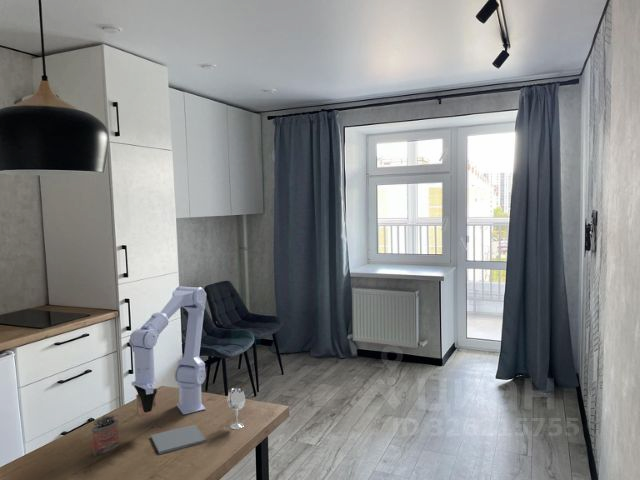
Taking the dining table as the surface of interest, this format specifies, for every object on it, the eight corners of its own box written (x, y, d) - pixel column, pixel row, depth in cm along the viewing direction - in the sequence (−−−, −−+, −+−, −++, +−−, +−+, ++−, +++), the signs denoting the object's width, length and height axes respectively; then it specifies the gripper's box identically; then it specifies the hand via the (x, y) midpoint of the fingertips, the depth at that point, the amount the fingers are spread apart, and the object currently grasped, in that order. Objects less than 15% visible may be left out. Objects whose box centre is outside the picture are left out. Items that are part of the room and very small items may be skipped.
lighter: (115, 441, 150) (113, 410, 150) (121, 444, 148) (120, 413, 148) (90, 452, 144) (88, 420, 143) (96, 456, 142) (95, 423, 141)
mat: (150, 437, 153) (150, 435, 153) (195, 426, 160) (194, 424, 160) (159, 454, 142) (159, 451, 142) (206, 441, 149) (205, 439, 149)
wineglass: (242, 430, 156) (241, 394, 156) (225, 429, 158) (224, 393, 157) (248, 422, 162) (247, 388, 161) (232, 421, 163) (231, 386, 162)
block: (137, 413, 154) (136, 395, 153) (153, 409, 156) (152, 391, 156) (139, 418, 150) (138, 399, 150) (155, 414, 153) (155, 395, 152)
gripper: (127, 362, 156) (129, 403, 157) (135, 376, 144) (137, 420, 145) (150, 359, 160) (151, 398, 161) (159, 371, 147) (161, 415, 148)
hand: (146, 408), depth 153 cm, fingers closed on block, 4 cm apart
